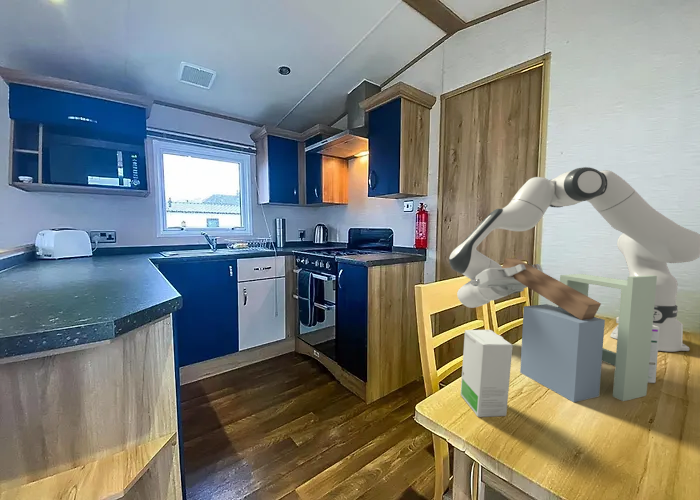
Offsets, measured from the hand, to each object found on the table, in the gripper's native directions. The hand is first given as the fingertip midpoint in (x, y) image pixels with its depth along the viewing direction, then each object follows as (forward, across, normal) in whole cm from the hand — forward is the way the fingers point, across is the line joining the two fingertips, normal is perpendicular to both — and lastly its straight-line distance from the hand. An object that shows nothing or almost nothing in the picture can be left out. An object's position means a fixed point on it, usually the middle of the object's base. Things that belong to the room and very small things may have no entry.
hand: (531, 266), depth 80 cm
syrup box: (-4, +23, +30) cm, 39 cm away
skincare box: (-4, -24, +30) cm, 39 cm away
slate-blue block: (-6, 0, +29) cm, 29 cm away
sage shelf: (-5, +11, +30) cm, 32 cm away
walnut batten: (0, 0, +7) cm, 7 cm away
